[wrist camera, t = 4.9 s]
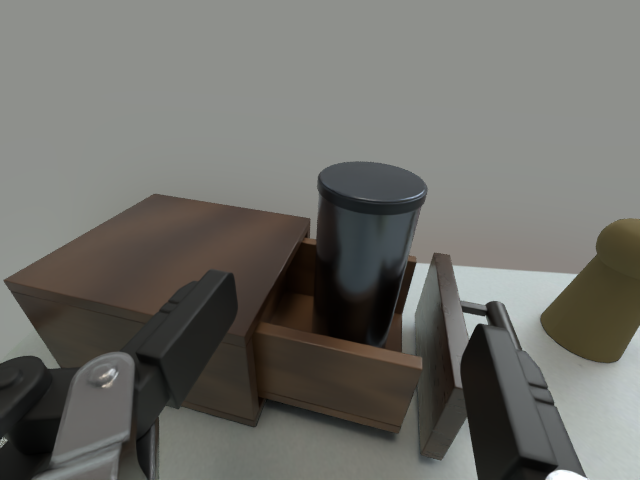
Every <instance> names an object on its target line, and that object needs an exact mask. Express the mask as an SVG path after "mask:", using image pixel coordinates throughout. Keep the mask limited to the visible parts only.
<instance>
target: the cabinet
mask: <svg viewBox="0 0 640 480" xmlns="http://www.w3.org/2000/svg"><path fill="white" fill-rule="evenodd" d="M304 238H310V218H304V217H298V216H292V215H284V214H279V213H273V212H267V211H260V210H253V209H248V208H241V207H235V206H229V205H222V204H215V203H210V202H204V201H197V200H191V199H185V198H178V197H172V196H166V195H160V194H153V195H151V196H150V197H148V198H146V199H144V200H143V201H141V202H139V203H137V204H136V205H134V206H132V207H131V208H129V209H127V210H125V211H123V212H122V213H120V214H118V215H116V216H115V217H113V218H111V219H110V220H108V221H106V222H104V223H103V224H101V225H99V226H97V227H95V228H94V229H92V230H90V231H88V232H87V233H85V234H83V235H82V236H80V237H78V238H76V239H74V240H73V241H71V242H69V243H68V244H66V245H64V246H62V247H61V248H59V249H57V250H55V251H54V252H52V253H50V254H48V255H47V256H45V257H43V258H41V259H40V260H38V261H36V262H34V263H33V264H31V265H29V266H27V267H26V268H24V269H22V270H20V271H19V272H17V273H15V274H13V275H12V276H10V277H8V278H7V279H5V280H4V282H5V284H6V285H7V287H8V289H9V290H10V291H11V293H12V294H13V296H14V297H15V299H16V300H17V302H18V303H19V305H20V307H21V308H22V309H23V311H24V312H25V314H26V315H27V317H28V319H29V320H30V322H31V323H32V325H33V326H34V328H35V329H36V331H37V332H38V334H39V335H40V337H41V338H42V340H43V341H44V343H45V345H46V346H47V348H48V349H49V351H50V352H51V354H52V355H53V357H54V358H55V360H56V361H57V363H58V364H59V366H60V367H61V368H73V367H82V366H84V365H85V364H86V363H87V362H89V361H90V360H92V359H94V358H96V357H98V356H100V355H103V354H106V353H110V352H119V351H120V350H121V349H122V348H123V347H124V346H125V345H126V344H127V343H128V342H129V341H130V340H131V339H132V338H133V336H134V335H135V334H136V333H137V332H138V331H139V330H140V329H141V328H142V327H143V326H144V325H145V324H146V323H147V322H148V321H149V320H150V319H151V318H152V317H153V315H154V314H155V313H156V312H159V309H160V308H161V307H162V306H163V305H164V304H165V303H166V302H168V300H169V299H170V298H171V297H172V295H173V294H174V293H175V292H176V291H177V290H178V289H179V288H181V287H183V286H185V285H186V284H188V283H190V282H191V281H193V280H194V281H199V280H200V279H201V278H202V277H203V276H204V274H205V273H206V272H207V271H208V270H210V269H215V270H220V271H225V272H230V273H233V275H234V277H235V285H236V293H237V301H238V311H237V315H236V318H235V320H234V322H233V324H232V325H231V327H230V328H229V330H228V332H227V333H226V335H225V336H224V338H223V340H222V341H221V343H220V344H219V346H218V347H217V349H216V351H215V352H214V354H213V355H212V357H211V359H210V360H209V362H208V363H207V365H206V366H205V368H204V370H203V371H202V373H201V374H200V376H199V377H198V379H197V381H196V382H195V384H194V385H193V387H192V389H191V390H190V392H189V393H188V395H187V396H186V398H185V400H184V401H183V403H182V404H181V406H183V407H186V408H190V409H193V410H197V411H200V412H204V413H207V414H211V415H214V416H218V417H221V418H225V419H228V420H232V421H235V422H239V423H242V424H246V425H249V426H253V427H255V426H256V424H257V422H258V419H259V417H260V414H261V412H262V409H263V407H264V404H265V402H266V398H262V397H259V396H258V392H257V383H256V373H255V363H254V353H253V344H252V334H253V332H254V330H255V328H256V326H257V325H258V323H259V321H260V319H261V317H262V315H263V313H264V311H265V310H266V308H267V306H268V304H269V302H270V300H271V298H272V297H273V295H274V293H275V291H276V289H277V287H278V285H279V283H280V282H281V280H282V278H283V276H284V274H285V272H286V270H287V269H288V267H289V265H290V263H291V261H292V259H293V257H294V255H295V254H296V252H297V250H298V248H299V246H300V244H301V242H302V241H303V239H304Z"/></svg>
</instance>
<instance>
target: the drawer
mask: <svg viewBox="0 0 640 480" xmlns="http://www.w3.org/2000/svg"><path fill="white" fill-rule="evenodd" d="M315 257H316V239H310V238H304V239H303V241H302V242H301V244H300V246H299V248H298V250H297V252H296V254H295V255H294V257H293V259H292V261H291V263H290V265H289V267H288V269H287V270H286V272H285V274H284V276H283V278H282V280H281V282H280V283H279V285H278V287H277V289H276V291H275V293H274V295H273V297H272V298H271V300H270V302H269V304H268V306H267V308H266V310H265V311H264V313H263V315H262V317H261V319H260V321H259V323H258V325H257V326H256V328H255V330H254V332H253V334H252V344H253V353H254V363H255V373H256V383H257V392H258V396H259V397H262V398H266V399H270V400H274V401H277V402H281V403H285V404H289V405H292V406H296V407H300V408H304V409H307V410H311V411H315V412H319V413H322V414H326V415H330V416H334V417H337V418H341V419H345V420H349V421H352V422H356V423H360V424H364V425H367V426H371V427H375V428H379V429H382V430H386V431H390V432H394V433H397V434H398V433H399V431H400V429H401V425H402V423H403V420H404V417H405V415H406V412H407V410H408V407H409V404H410V402H411V399H412V396H413V394H414V391H415V388H416V386H417V383H418V403H419V428H420V452H421V455H422V456H426V457H430V458H433V459H437V460H442V459H443V457H444V455H445V454H446V452H447V450H448V449H449V447H450V445H451V444H452V442H453V440H454V438H455V437H456V435H457V433H458V432H459V430H460V428H461V426H462V425H463V423H464V421H465V420H466V418H467V411H466V406H465V400H464V394H463V388H462V382H461V376H460V363H461V358H462V355H463V352H464V350H465V348H466V346H467V344H468V342H469V338H468V334H467V329H466V325H465V321H464V316H463V312H464V313H470V314H475V315H480V316H485V315H486V319H487V322H488V325H490V326H495V327H500V328H505V329H507V330H508V331H509V332H510V335H511V337H512V340H513V343H514V345H515V348H516V349H518V350H522V348H521V346H520V343H519V340H518V338H517V335H516V333H515V330H514V328H513V325H512V323H511V320H510V318H509V315H508V313H507V310H506V308H505V305H504V304H503V303H501V302H498V301H492V302H489V303H487V304H486V305H481V304H475V303H470V302H465V301H460V298H459V294H458V289H457V285H456V280H455V276H454V271H453V267H452V263H451V258H450V255H447V254H441V253H434V254H433V258H432V261H431V264H430V267H429V270H428V274H427V277H426V280H425V283H424V287H423V290H422V293H421V296H420V300H419V303H418V306H417V309H416V313H415V330H416V355H417V356H414V355H409V354H405V353H402V313H403V309H404V306H405V302H406V298H407V295H408V291H409V288H410V284H411V280H412V277H413V273H414V270H415V266H416V257H415V256H410V255H409V257H408V261H407V265H406V268H405V272H404V276H403V280H402V284H401V288H400V292H399V296H398V300H397V304H396V308H395V311H394V315H393V319H392V323H391V327H390V331H389V335H388V339H387V343H386V347H385V349H382V348H378V347H373V346H369V345H365V344H360V343H356V342H351V341H347V340H342V339H338V338H333V337H329V336H324V335H320V334H315V333H311V332H312V313H313V294H314V276H315Z"/></svg>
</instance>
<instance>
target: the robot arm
mask: <svg viewBox="0 0 640 480" xmlns="http://www.w3.org/2000/svg"><path fill="white" fill-rule="evenodd" d="M237 311H238V301H237V293H236V285H235V277H234V275H233V273H230V272H225V271H220V270H215V269H210V270H208V271H207V272H206V273H205V274H204V276H203V277H202V278H201V279H200V280H199V281H194V280H193V281H191V282H190V283H188V284H186V285H185V286H183V287H181V288H179V289H178V290H177V291H176V292H175V293H174V294H173V295H172V297H171V298H170V299H169V300H168V302H166V303H165V304H164V305H163V306H162V307H161V308H160V309H159V312H156V313H155V314H154V315H153V317H152V318H151V319H150V320H149V321H148V322H147V323H146V324H145V325H144V326H143V327H142V328H141V329H140V330H139V331H138V332H137V333H136V334H135V335H134V336H133V338H132V339H131V340H130V341H129V342H128V343H127V344H126V345H125V346H124V347H123V348H122V349H121V350H120V351H119V352H110V353H106V354H103V355H100V356H98V357H96V358H94V359H92V360H90V361H89V362H87V363H86V364H85V365H84V366H82V367H73V368H58V369H47V367H46V366H45V365H44V363H43V362H42V360H41V359H39V358H38V357H35V356H22V357H17V358H14V359H11V360H8V361H6V362H3V363H1V364H0V440H1V439H2V437H3V436H4V437H5V438H6V439H7V440H8V441H7V442H6V443H5V444H4V445H3V446H2V447H1V449H0V480H159V417H158V416H159V414H160V413H161V411H162V410H163V408H164V407H165V405H166V406H169V407H173V408H176V409H179V407H180V406H181V404H182V403H183V401H184V400H185V398H186V396H187V395H188V393H189V392H190V390H191V389H192V387H193V385H194V384H195V382H196V381H197V379H198V377H199V376H200V374H201V373H202V371H203V370H204V368H205V366H206V365H207V363H208V362H209V360H210V359H211V357H212V355H213V354H214V352H215V351H216V349H217V347H218V346H219V344H220V343H221V341H222V340H223V338H224V336H225V335H226V333H227V332H228V330H229V328H230V327H231V325H232V324H233V322H234V320H235V318H236V315H237ZM460 376H461V382H462V388H463V394H464V400H465V406H466V411H467V417H468V423H469V429H470V435H471V441H472V447H473V453H474V459H475V465H476V470H477V476H478V480H588V479H587V477H586V475H585V473H584V471H583V469H582V467H581V464H580V462H579V459H578V457H577V455H576V452H575V450H574V448H573V445H572V443H571V441H570V438H569V436H568V433H567V431H566V429H565V426H564V424H563V422H562V419H561V417H560V415H559V412H558V410H557V408H556V407H555V406H554V400H553V398H552V396H551V393H550V391H548V389H547V388H548V386H547V384H546V382H545V379H544V377H543V374H542V372H541V370H540V368H539V367H538V366H537V364H536V363H535V362H534V361H533V360H532V358H531V357H530V356H529V355H528V354H527V352H526V351H522V350H518V349H516V348H515V345H514V343H513V340H512V337H511V335H510V332H509V331H508V330H507V329H505V328H500V327H495V326H490V325H485V324H478V325H477V326H476V327H475V329H474V331H473V333H472V336H471V338H470V340H469V342H468V344H467V346H466V348H465V350H464V352H463V355H462V358H461V363H460Z"/></svg>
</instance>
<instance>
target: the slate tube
mask: <svg viewBox="0 0 640 480" xmlns="http://www.w3.org/2000/svg"><path fill="white" fill-rule="evenodd" d="M317 188H318V191H319V202H318V220H317V239H316V257H315V276H314V294H313V313H312V332H311V333H315V334H320V335H324V336H329V337H333V338H338V339H342V340H347V341H351V342H356V343H360V344H365V345H369V346H373V347H378V348H382V349H385V347H386V343H387V339H388V335H389V331H390V327H391V323H392V319H393V315H394V311H395V308H396V304H397V300H398V296H399V292H400V288H401V284H402V280H403V276H404V272H405V268H406V265H407V261H408V257H409V252H410V249H411V245H412V241H413V237H414V233H415V229H416V225H417V221H418V218H419V214H420V210H421V206H422V205H423V204H424V202H425V198H426V195H427V186H426V184H425V182H424V181H423V180H422V179H421V178H420V177H419V176H417V175H415V174H414V173H412V172H410V171H407V170H405V169H402V168H399V167H395V166H391V165H387V164H382V163H374V162H346V163H345V162H344V163H339V164H334V165H331V166H329V167H327V168H325V169H324V170H323V171H322V172H320V174H319V176H318V185H317Z"/></svg>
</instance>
